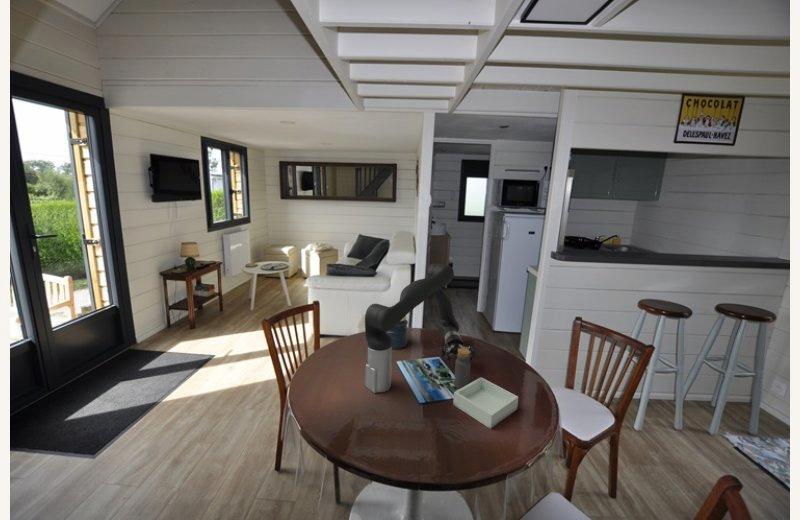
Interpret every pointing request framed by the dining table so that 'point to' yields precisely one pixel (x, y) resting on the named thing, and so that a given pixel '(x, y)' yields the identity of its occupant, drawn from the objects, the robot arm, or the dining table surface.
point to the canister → (399, 334)
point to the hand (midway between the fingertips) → (460, 359)
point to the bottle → (462, 368)
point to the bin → (485, 402)
